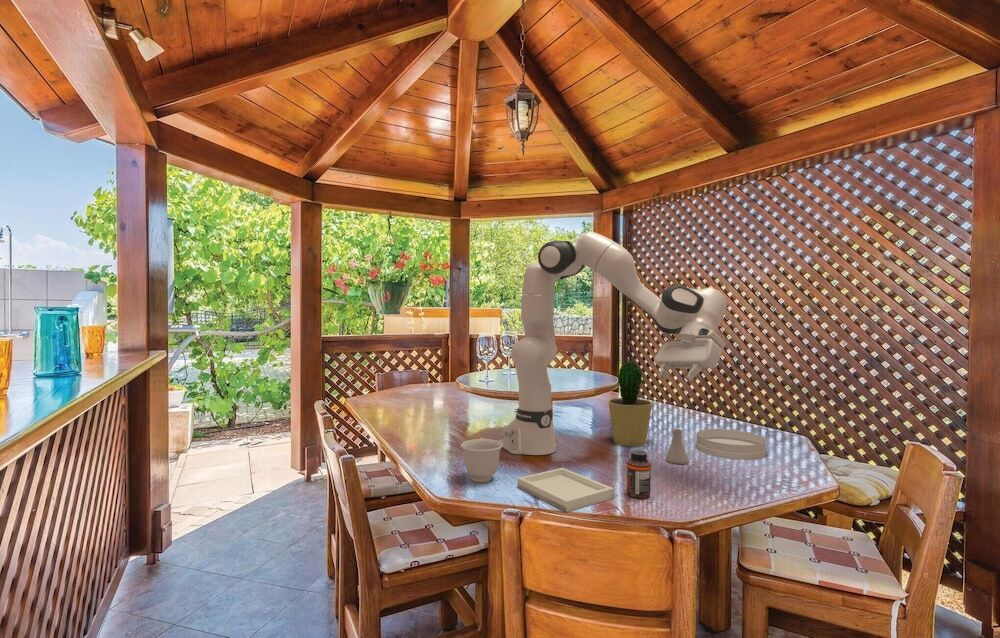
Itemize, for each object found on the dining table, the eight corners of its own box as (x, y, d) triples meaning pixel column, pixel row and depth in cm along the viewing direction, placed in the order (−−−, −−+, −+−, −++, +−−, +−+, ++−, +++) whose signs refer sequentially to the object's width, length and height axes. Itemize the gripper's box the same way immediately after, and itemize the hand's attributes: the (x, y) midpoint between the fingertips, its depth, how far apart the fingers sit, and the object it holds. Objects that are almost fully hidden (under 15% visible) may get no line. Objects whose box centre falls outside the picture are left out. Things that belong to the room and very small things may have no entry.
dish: (683, 450, 175) (683, 435, 174) (713, 439, 189) (713, 425, 189) (750, 465, 158) (750, 449, 158) (777, 451, 173) (777, 437, 173)
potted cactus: (631, 450, 173) (632, 362, 172) (599, 440, 186) (599, 359, 185) (661, 443, 181) (662, 360, 181) (628, 434, 194) (629, 356, 194)
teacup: (502, 469, 153) (502, 436, 152) (503, 486, 138) (503, 450, 137) (462, 469, 152) (462, 436, 152) (459, 486, 137) (459, 450, 137)
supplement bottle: (623, 491, 134) (624, 448, 134) (645, 490, 135) (645, 448, 135) (631, 499, 128) (631, 455, 128) (654, 499, 129) (654, 454, 129)
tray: (517, 487, 137) (517, 477, 137) (562, 476, 146) (562, 467, 146) (566, 511, 121) (566, 501, 121) (613, 498, 129) (613, 488, 129)
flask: (691, 465, 157) (691, 433, 156) (666, 464, 158) (666, 432, 158) (687, 458, 164) (687, 428, 163) (663, 457, 165) (664, 426, 165)
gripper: (661, 333, 152) (641, 371, 148) (717, 329, 134) (696, 372, 130) (674, 346, 154) (655, 383, 150) (731, 344, 136) (711, 386, 131)
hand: (674, 378), depth 140 cm, fingers open, 8 cm apart
